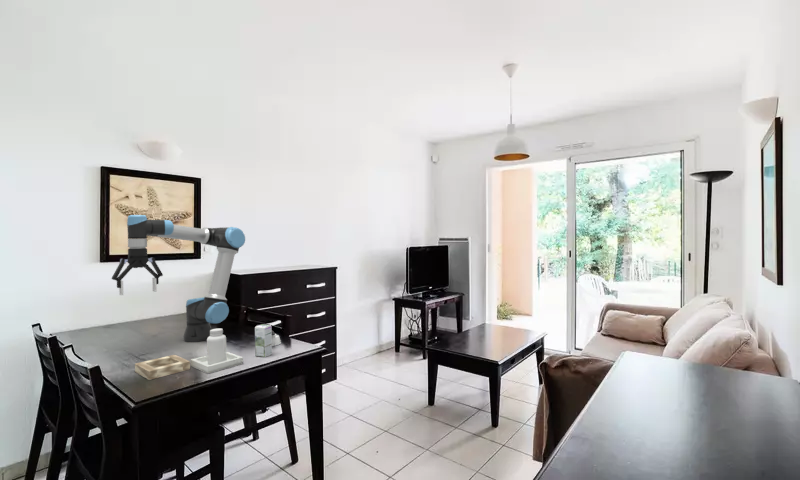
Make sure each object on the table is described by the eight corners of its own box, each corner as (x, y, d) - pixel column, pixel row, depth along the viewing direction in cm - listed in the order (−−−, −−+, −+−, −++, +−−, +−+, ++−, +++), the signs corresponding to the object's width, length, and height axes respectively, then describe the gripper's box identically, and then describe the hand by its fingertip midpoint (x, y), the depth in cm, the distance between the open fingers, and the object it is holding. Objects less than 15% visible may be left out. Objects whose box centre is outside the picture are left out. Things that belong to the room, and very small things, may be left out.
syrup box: (272, 354, 194) (272, 324, 193) (264, 357, 188) (264, 327, 188) (262, 353, 196) (262, 323, 195) (254, 356, 190) (254, 326, 190)
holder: (174, 362, 183) (174, 354, 183) (190, 369, 173) (189, 361, 173) (135, 371, 170) (134, 363, 170) (149, 380, 160) (148, 371, 160)
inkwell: (281, 341, 217) (281, 322, 217) (278, 350, 200) (278, 330, 200) (264, 342, 216) (264, 323, 215) (259, 351, 198) (259, 331, 198)
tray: (225, 357, 189) (225, 351, 189) (243, 363, 179) (243, 357, 179) (190, 366, 177) (190, 359, 177) (207, 373, 167) (207, 366, 167)
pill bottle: (211, 360, 182) (210, 327, 182) (229, 359, 182) (228, 327, 182) (204, 365, 174) (203, 332, 174) (223, 365, 175) (222, 331, 174)
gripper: (163, 247, 197) (164, 289, 197) (102, 248, 177) (103, 295, 178) (169, 247, 192) (170, 290, 193) (108, 249, 173) (109, 297, 173)
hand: (138, 293), depth 185 cm, fingers open, 13 cm apart
